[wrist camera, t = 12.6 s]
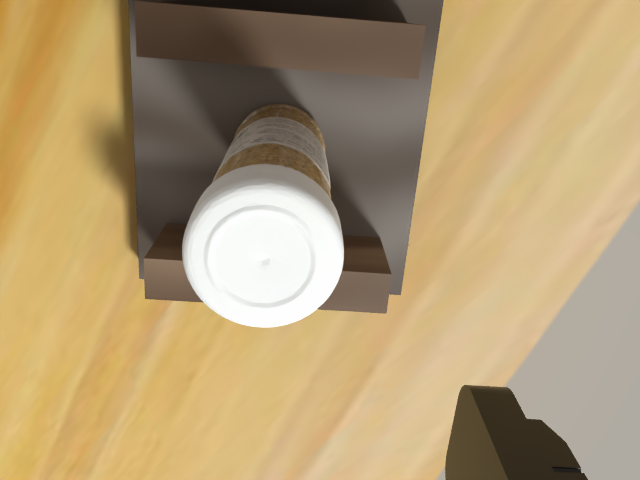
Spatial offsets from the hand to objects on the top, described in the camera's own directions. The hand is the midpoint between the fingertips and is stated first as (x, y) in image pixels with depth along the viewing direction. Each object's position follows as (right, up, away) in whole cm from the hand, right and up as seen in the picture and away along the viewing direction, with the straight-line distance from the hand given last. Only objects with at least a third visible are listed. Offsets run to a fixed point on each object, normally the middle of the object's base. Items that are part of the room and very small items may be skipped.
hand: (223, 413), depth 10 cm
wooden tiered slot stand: (0, +8, +20) cm, 21 cm away
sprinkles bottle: (0, +7, +19) cm, 20 cm away
